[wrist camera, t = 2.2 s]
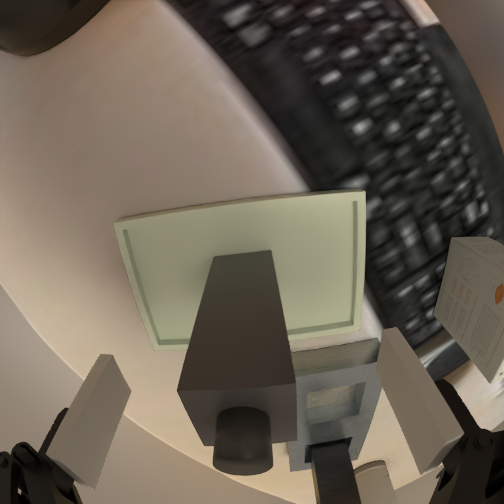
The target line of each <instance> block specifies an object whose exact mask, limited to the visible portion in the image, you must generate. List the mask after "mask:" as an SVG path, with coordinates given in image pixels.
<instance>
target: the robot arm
mask: <svg viewBox="0 0 504 504" xmlns="http://www.w3.org/2000/svg"><path fill="white" fill-rule="evenodd" d="M107 1H108V0H0V50H1V51H4V52H7V53H11V54H16V55H20V56H29V55H34V54H37V53H40V52H43V51H45V50H47V49H49V48H51V47H53V46H55V45H56V44H58V43H59V42H61V41H63V40H64V39H65V38H67V37H68V36H70V35H71V34H72V33H74V32H75V31H76V30H77V29H79V28H80V27H81V26H82V25H83V24H85V23H86V22H87V21H88V20H89V19H90V18H91V17H92V16H93V15H94V14H96V13H97V12H98V11H99V10H100V9H101V8H102V6H103V5H104V4H105V3H106V2H107ZM375 372H376V374H377V376H378V378H379V381H380V383H381V385H382V387H383V389H384V391H385V393H386V395H387V398H388V400H389V402H390V404H391V406H392V409H393V411H394V413H395V415H396V417H397V420H398V422H399V424H400V427H401V429H402V431H403V433H404V436H405V438H406V440H407V443H408V445H409V448H410V450H411V452H412V455H413V457H414V460H415V462H416V465H417V467H418V470H419V472H420V475H422V474H424V473H427V472H429V471H431V470H434V469H436V468H437V467H438V466H439V465H440V464H441V462H442V463H443V465H444V468H443V469H442V470H441V471H440V472H439V473H438V475H437V476H436V478H439V477H440V478H439V481H438V483H437V486H436V488H435V491H434V493H433V495H432V498H431V500H430V502H429V504H504V430H503V431H498V432H493V433H492V432H491V431H489V430H486V429H481V428H480V427H479V426H478V425H477V423H476V421H475V420H474V418H473V417H472V415H471V413H470V412H469V410H468V409H467V407H466V405H465V404H464V402H462V399H461V398H460V396H459V395H458V393H457V392H456V390H455V389H454V387H453V386H452V385H451V384H450V383H449V382H447V381H446V380H444V379H441V380H439V381H436V382H433V380H432V379H431V377H430V376H429V374H428V372H427V371H426V369H425V368H424V366H423V365H422V363H421V362H420V360H419V359H418V357H417V356H416V354H415V353H414V351H413V350H412V348H411V347H410V346H409V344H408V343H407V341H406V340H405V338H404V337H403V335H402V334H401V333H400V331H399V330H398V328H397V327H395V328H390V329H386V330H382V337H381V343H380V348H379V354H378V359H377V364H376V369H375ZM130 394H131V390H130V388H129V386H128V384H127V383H126V381H125V379H124V377H123V375H122V373H121V371H120V369H119V367H118V365H117V363H116V361H115V359H114V357H113V355H107V354H100V356H99V357H98V359H97V361H96V362H95V364H94V366H93V367H92V369H91V371H90V372H89V374H88V376H87V377H86V379H85V381H84V383H83V384H82V386H81V388H80V390H79V391H78V393H77V395H76V397H75V399H74V400H73V402H72V404H71V406H70V407H69V408H64V409H63V410H62V411H61V412H60V413H59V414H58V416H57V418H56V419H55V421H54V424H53V425H52V427H51V430H50V431H49V432H48V434H47V436H46V438H45V440H44V442H43V444H42V446H41V448H40V450H39V452H38V453H37V452H36V451H35V450H34V449H33V448H32V447H31V446H30V445H29V444H28V443H26V442H20V443H18V444H16V445H15V446H14V447H13V449H12V452H11V455H10V454H9V453H8V452H4V451H3V452H0V504H83V503H82V501H81V499H80V496H79V494H78V491H77V489H76V487H75V485H74V484H73V483H74V480H75V481H77V482H78V483H79V484H80V485H82V486H84V487H87V488H90V489H93V490H95V488H96V485H97V482H98V479H99V476H100V473H101V470H102V468H103V465H104V462H105V459H106V456H107V453H108V450H109V448H110V445H111V442H112V439H113V437H114V434H115V432H116V429H117V427H118V424H119V421H120V419H121V416H122V414H123V411H124V409H125V406H126V404H127V401H128V399H129V396H130ZM18 488H19V489H21V495H20V494H19V493H18Z"/></svg>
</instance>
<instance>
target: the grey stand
mask: <svg viewBox="0 0 504 504" xmlns="http://www.w3.org/2000/svg"><path fill="white" fill-rule="evenodd" d="M379 348H380V342H379V340H378V338H375V339H370V340H366V341H361V342H356V343H350V344H345V345H339V346H334V347H328V348H322V349H315V350H308V351H301V352H294V353H291V356H292V362H293V368H294V373H295V379H296V392H297V441H291V442H288V454H289V464H290V472H292V471H299V470H307V469H312V476H313V482H314V489H315V495H316V502H317V504H362V503H361V499H360V495H359V491H358V486H357V482H356V478H355V474H354V470H353V466H352V462H351V461H353V460H357V459H358V456H359V454H360V451H361V449H362V446H363V443H364V441H365V438H366V435H367V433H368V430H369V427H370V424H371V421H372V418H373V415H374V412H375V409H376V406H377V402H378V399H379V396H380V392H381V389H382V385H381V383H380V381H379V378H378V376H377V374H376V372H375V369H376V364H377V359H378V354H379Z"/></svg>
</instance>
